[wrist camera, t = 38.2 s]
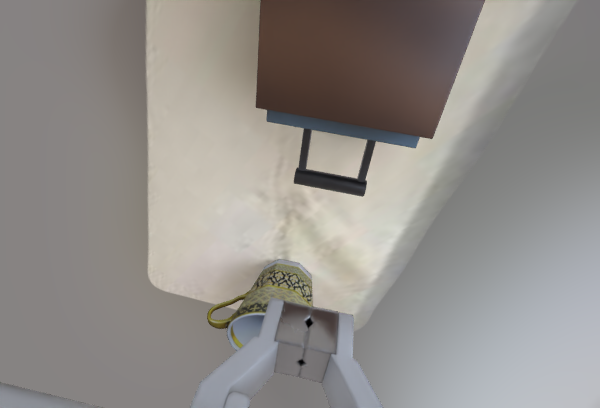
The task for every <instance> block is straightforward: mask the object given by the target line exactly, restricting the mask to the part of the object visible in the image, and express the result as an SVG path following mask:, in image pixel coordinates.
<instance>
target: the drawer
mask: <svg viewBox="0 0 600 408" xmlns="http://www.w3.org/2000/svg"><path fill="white" fill-rule="evenodd" d="M267 122H272V123H278V124H283V125H289V126H295V127H300V128H304V132H303V139H302V147H301V154H300V161H299V168H297V169H296V172H295V177H294V183H295V184H300V185H305V186H310V187H315V188H320V189H326V190H331V191H336V192H341V193H347V194H352V195H357V196H362V197H363V196H364V194H365V190H366V185H367V181H366V180H365V179H366V175H367V171H368V168H369V164H370V161H371V157H372V153H373V150H374V146H375V142H376V141H378V142H384V143H389V144H395V145H400V146H406V147H411V148H416V146H417V143H418V140H419V137H418V136H413V135H407V134H401V133H396V132H390V131H384V130H379V129H373V128H367V127H362V126H356V125H351V124H345V123H339V122H334V121H328V120H322V119H317V118H311V117H305V116H300V115H294V114H288V113H283V112H277V111H272V110H267ZM312 130H317V131H322V132H328V133H334V134H339V135H345V136H350V137H356V138H361V139H367V143H366V147H365V151H364V155H363V159H362V162H361V166H360V170H359V174H358V179H356V178H351V177H346V176H340V175H335V174H330V173H324V172H319V171H314V170H308V169H306V167H307V160H308V153H309V147H310V140H311V133H312Z"/></svg>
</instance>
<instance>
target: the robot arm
mask: <svg viewBox="0 0 600 408" xmlns="http://www.w3.org/2000/svg"><path fill="white" fill-rule="evenodd" d="M353 324H354V318H353V315H350V314H345V313H340V312H339V313H338V311H333V310H328V309H323V308H318V307H313V306H311V307H310V306H306V305H302V304H298V303H294V302H289V301H285V300H281V299H277V298H272V297H271V299H270V300H269V303H268V307H267V310H266V313H265V316H264V320H263V323H262V326H261V329H260V333H259V336H258V337H253V338H252V339H251V340H249V341H248V342H247V343H246V344H245V345H243V346H242V347H241V348H240V349H239V350H238V351H236V352H235V353H234V354H233V355H232V356H230V357H229V358H228V359H227V360H226V361H225V362H224V363H222V364H221V365H220V366H219V367H217V368H216V369H215V370H214V371H213V372H211V373H210V374H209V375H208V376H207V377H206V378H205V379H203V380H202V381H201V382H200V384H199V387H198V389H197V391H196V394H195V396H194V399H193V401H192V403H191V406H190V408H249V405H250V400H251V399H252V398H253V397H254V396H255V394H256V393H257V392H258V391H259V390H260V389H261V388H262V387H263V386H264V384H265V383H266V382H267V381H268V380H269V379H270V378H271V377H272V375H273V374H274V372H276V373H281V374H286V375H291V376H296V377H300V378H304V379H308V380H312V381H315V382H320V383H322V386H323V389H324V392H325V394H326V397H327V400H328V402H329V405H330V408H383V406H382V404H381V402H380V401H379V399H378V397H377V395H376V393H375V392H374V390H373V388H372V386H371V384H370V383H369V381H368V379H367V377H366V375H365V374H364V372H363V370H362V368H361V366H360V365H359V363H358V361H357V360H356V359H353ZM0 408H103V407H99V406H95V405H90V404H86V403H83V402H79V401H75V400H71V399H67V398H63V397H59V396H54V395H51V394H46V393H42V392H38V391H34V390H30V389H26V388H22V387H18V386H14V385H10V384H6V383H2V382H0Z"/></svg>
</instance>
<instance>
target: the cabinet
mask: <svg viewBox="0 0 600 408" xmlns="http://www.w3.org/2000/svg"><path fill="white" fill-rule="evenodd" d="M484 2H485V0H261V3H260V25H259V48H258V70H257V92H256V108H260V109H266V110H272V111H277V112H283V113H288V114H294V115H300V116H305V117H311V118H317V119H322V120H328V121H334V122H339V123H345V124H351V125H356V126H362V127H367V128H373V129H379V130H384V131H390V132H396V133H401V134H407V135H413V136H418V137H424V138H430V139H432V138H433V136H434V133H435V131H436V128H437V125H438V123H439V120H440V118H441V115H442V112H443V110H444V107H445V104H446V102H447V99H448V96H449V94H450V91H451V89H452V86H453V83H454V81H455V78H456V75H457V73H458V70H459V67H460V65H461V62H462V60H463V57H464V54H465V52H466V49H467V46H468V44H469V41H470V38H471V36H472V33H473V31H474V28H475V25H476V23H477V20H478V17H479V15H480V12H481V9H482V7H483V4H484Z"/></svg>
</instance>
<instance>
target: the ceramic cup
mask: <svg viewBox="0 0 600 408" xmlns="http://www.w3.org/2000/svg"><path fill="white" fill-rule="evenodd" d="M271 297H272V298H277V299H281V300H285V301H289V302H294V303H298V304H302V305H306V306H310V307H311V306H313V302H312V277H311V275H310V274H309V273H308V272H307V271H306V270H305V269H304V268H303V266H302V265H301V264H300V263H297V262H291V261H286V260H281V259H279V260H277V261H275V262H273V263H271V264H269V265H267V266H265V267H264V269H263V271H262V272H261V274H260V276H259V277H258V279H257V280H256V282H255V283H254V285H253V287H252V288H251V290H249V291H248V292H247V293H246V294H244V295H241V296H238V297H236V298H234V299H232V300H229V301H226V302H223V303H220V304H217V305H215V306H214V307H212V308H211V309H210V310H209V312H208V316H207V319H208V322H209V324H210V325H211V326H213V327H215V328H218V329H224V328H227V337H228V340H229V342H230V344H231V345H232V346H233V348H234V349H235V350H236V351H238V350H239V349H240V348H241V347H242V346H243V345H245V344H246V343H247V342H248V341H249V340H251V339H252V338H253V337H258V336H259V333H260V329H261V326H262V323H263V320H264V316H265V313H266V310H267V307H268V303H269V300H270V299H271ZM243 299H244V301H243V302H242V304H241V305H240V307H239V308H238V310H237V311H236V313H234V314H233V315H232V316H231V317H230V318H228V319H224V320H213V319H211V314H212V312H213V311H215V310H216V309H219V308H222V307H225V306H228V305H231V304H233V303H235V302H237V301H239V300H243Z"/></svg>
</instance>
